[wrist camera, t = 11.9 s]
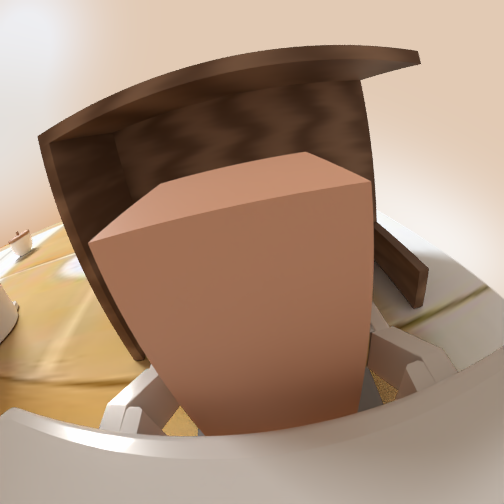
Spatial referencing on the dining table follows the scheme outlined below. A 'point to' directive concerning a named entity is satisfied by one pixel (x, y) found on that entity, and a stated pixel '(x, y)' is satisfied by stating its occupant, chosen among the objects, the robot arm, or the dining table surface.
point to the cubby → (219, 141)
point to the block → (250, 290)
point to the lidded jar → (21, 243)
